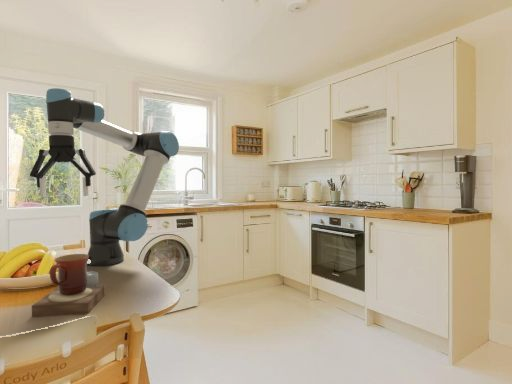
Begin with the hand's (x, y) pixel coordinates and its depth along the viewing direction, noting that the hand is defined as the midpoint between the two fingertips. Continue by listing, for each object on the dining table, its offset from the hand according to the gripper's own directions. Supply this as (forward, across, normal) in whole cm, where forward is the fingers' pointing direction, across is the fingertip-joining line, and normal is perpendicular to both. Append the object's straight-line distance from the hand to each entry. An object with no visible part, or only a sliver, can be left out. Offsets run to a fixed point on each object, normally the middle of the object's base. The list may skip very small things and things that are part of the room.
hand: (65, 196), depth 114 cm
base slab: (+30, +8, -24) cm, 39 cm away
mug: (+27, +8, -24) cm, 37 cm away
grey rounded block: (+31, +7, -6) cm, 32 cm away
